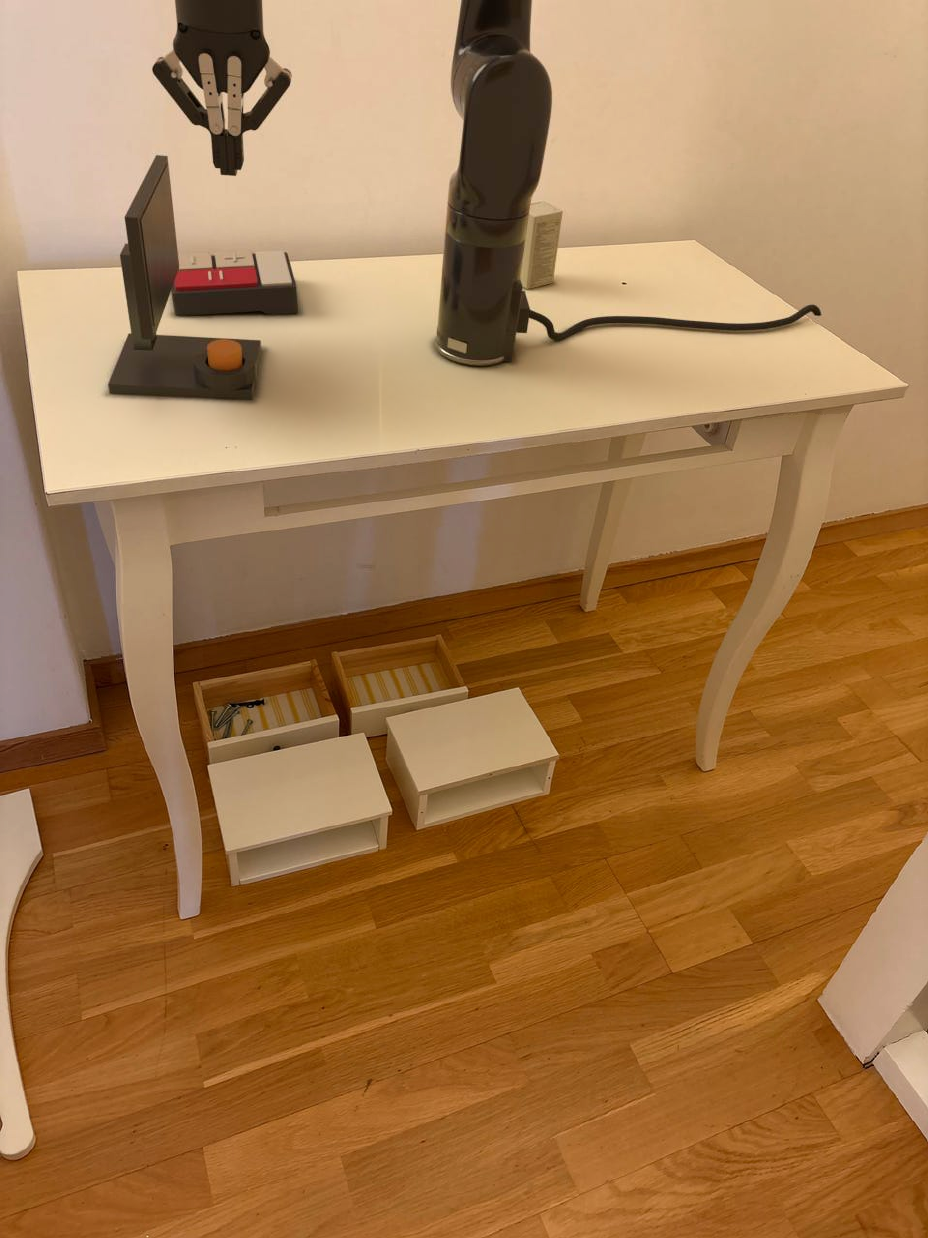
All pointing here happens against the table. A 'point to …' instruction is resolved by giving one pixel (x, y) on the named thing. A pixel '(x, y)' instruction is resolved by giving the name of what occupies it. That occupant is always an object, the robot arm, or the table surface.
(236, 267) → the calculator
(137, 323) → the monitor stand
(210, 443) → the table surface
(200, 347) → the monitor base
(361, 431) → the table surface
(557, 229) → the cream printed box
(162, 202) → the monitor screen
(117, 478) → the table surface
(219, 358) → the power button
